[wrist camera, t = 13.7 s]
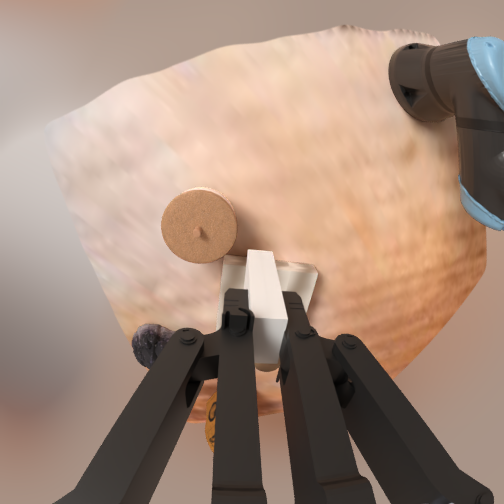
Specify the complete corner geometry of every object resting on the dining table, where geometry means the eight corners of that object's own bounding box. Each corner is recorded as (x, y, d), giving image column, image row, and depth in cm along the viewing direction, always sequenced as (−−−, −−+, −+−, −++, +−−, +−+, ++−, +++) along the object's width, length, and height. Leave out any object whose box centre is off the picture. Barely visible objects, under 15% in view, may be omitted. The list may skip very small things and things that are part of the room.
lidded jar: (249, 199, 45) (252, 217, 36) (218, 253, 48) (214, 281, 40) (189, 168, 42) (177, 179, 33) (162, 225, 46) (146, 248, 37)
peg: (273, 298, 53) (284, 354, 39) (269, 315, 54) (278, 372, 41) (251, 296, 52) (256, 353, 39) (248, 313, 54) (252, 371, 40)
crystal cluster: (153, 366, 61) (150, 399, 52) (118, 330, 54) (109, 364, 46) (200, 350, 60) (202, 384, 52) (167, 309, 54) (163, 345, 45)
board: (313, 264, 50) (318, 273, 47) (289, 345, 58) (291, 356, 55) (224, 254, 48) (223, 263, 45) (214, 340, 57) (214, 351, 53)
